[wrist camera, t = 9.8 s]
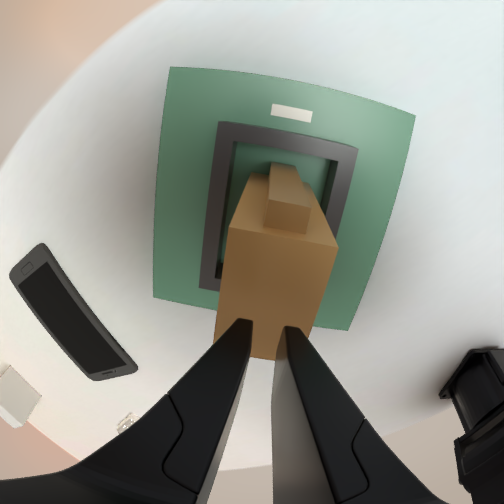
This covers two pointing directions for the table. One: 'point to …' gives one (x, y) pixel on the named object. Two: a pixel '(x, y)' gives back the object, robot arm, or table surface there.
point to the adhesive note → (16, 398)
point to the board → (259, 161)
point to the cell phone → (69, 316)
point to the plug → (275, 259)
